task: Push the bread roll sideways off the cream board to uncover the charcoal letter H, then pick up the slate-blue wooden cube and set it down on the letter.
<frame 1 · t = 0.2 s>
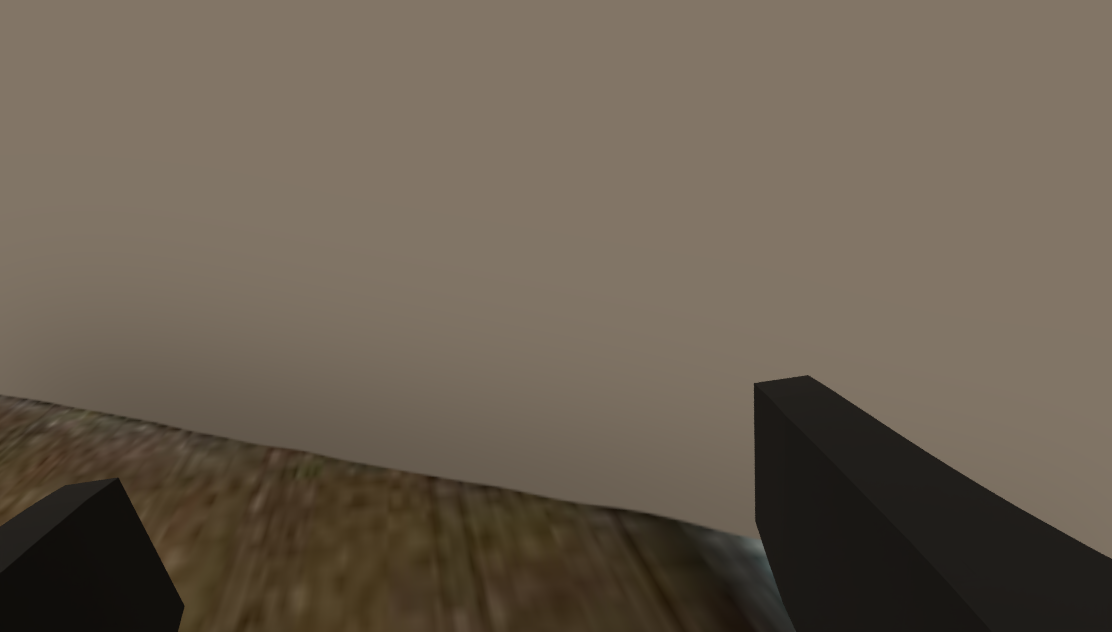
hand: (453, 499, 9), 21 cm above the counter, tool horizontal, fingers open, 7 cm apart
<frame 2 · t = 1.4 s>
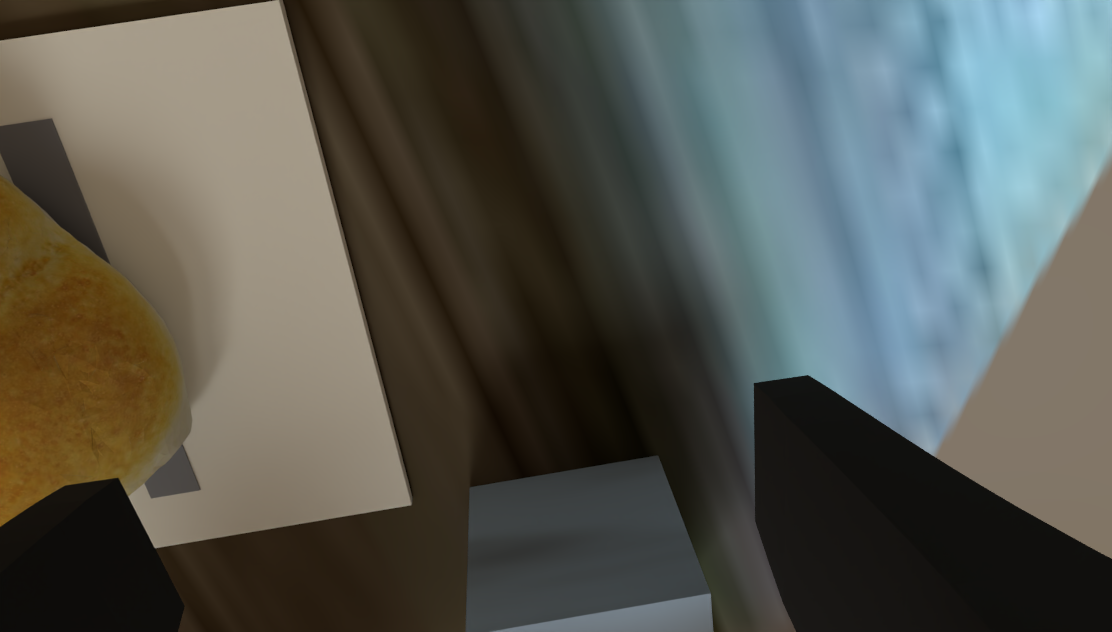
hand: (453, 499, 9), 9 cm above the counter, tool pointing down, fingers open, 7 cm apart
letter board: (1, 340, 17), on the counter
slate-blue cube: (575, 544, 21), on the counter
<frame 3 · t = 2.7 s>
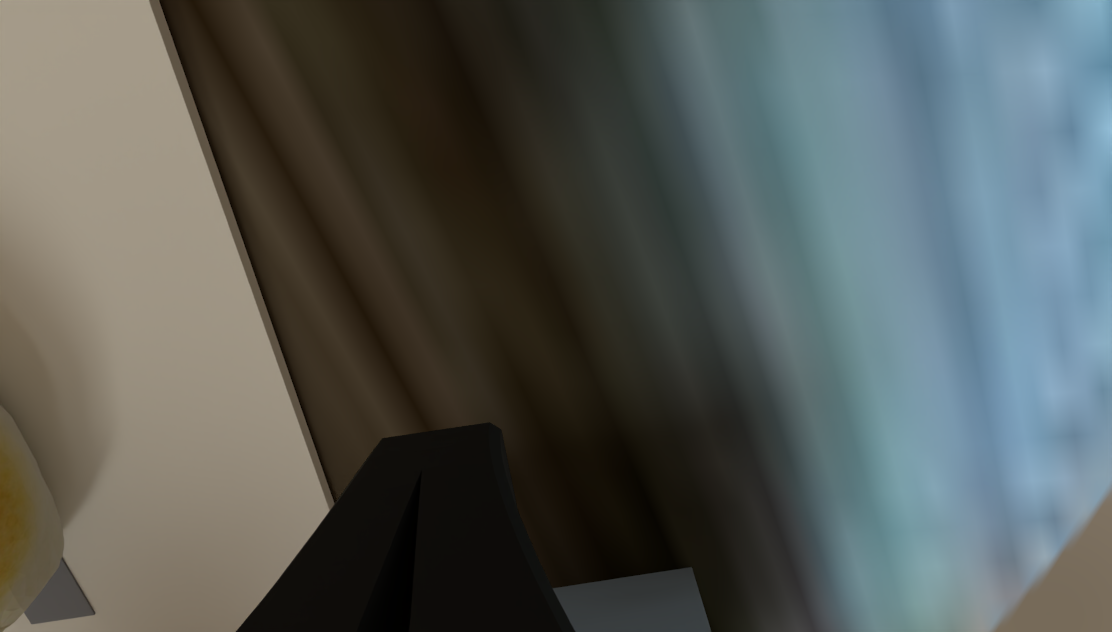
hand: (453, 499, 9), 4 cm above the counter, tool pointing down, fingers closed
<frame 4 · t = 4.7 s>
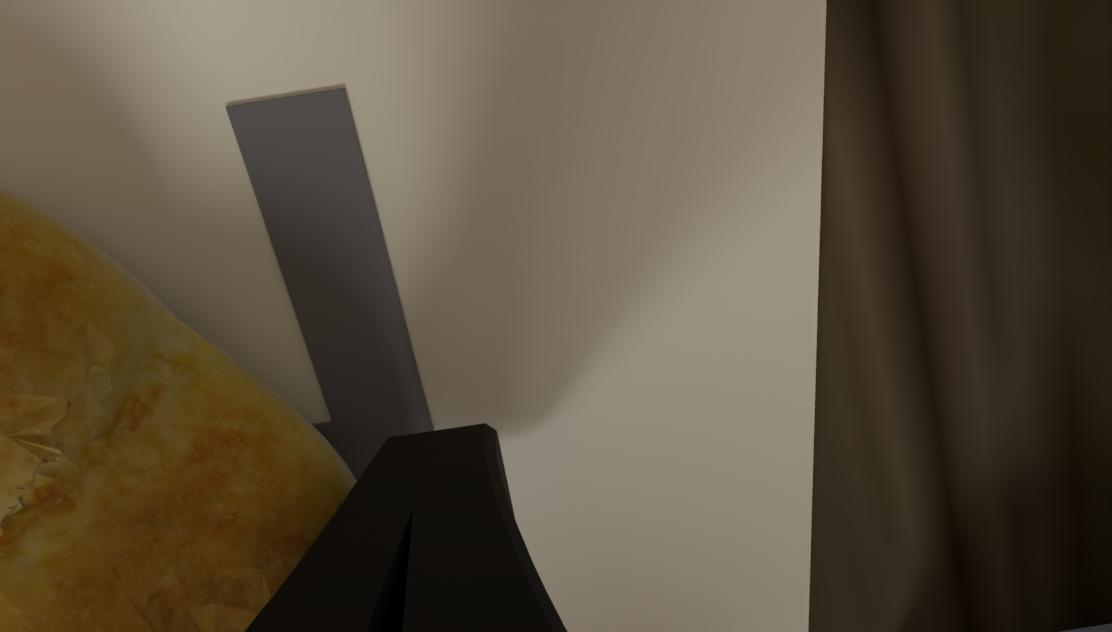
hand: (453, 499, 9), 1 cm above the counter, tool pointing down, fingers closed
letter board: (207, 466, 10), on the counter
bread roll: (57, 488, 10), resting on letter board, touching gripper
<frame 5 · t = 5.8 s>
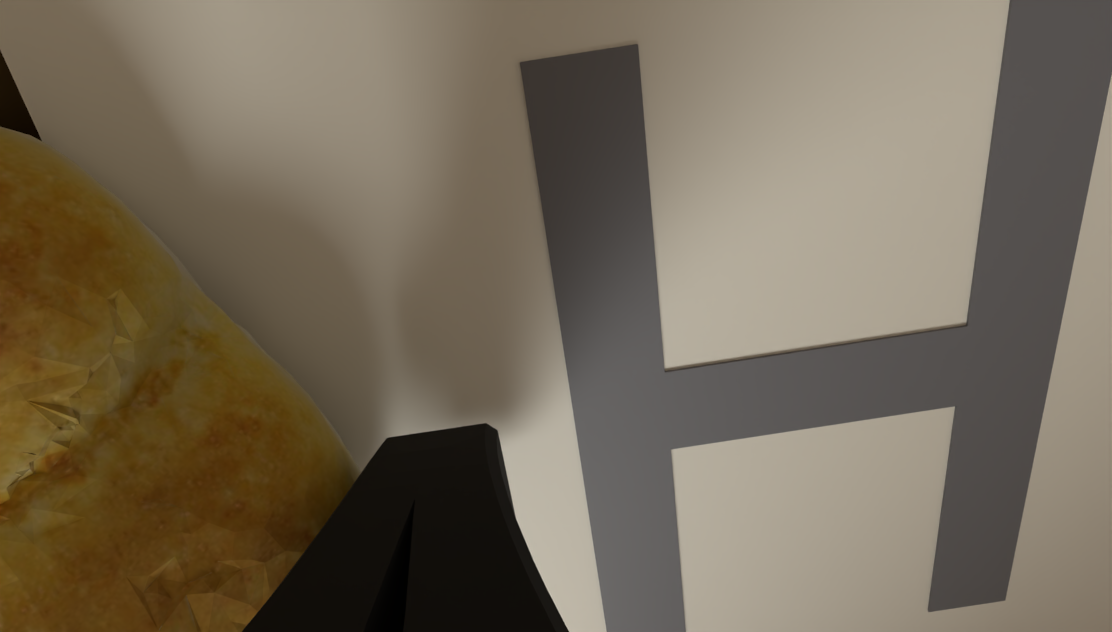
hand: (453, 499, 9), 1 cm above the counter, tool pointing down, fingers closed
letter board: (805, 375, 10), on the counter
bread roll: (57, 447, 10), resting on letter board, touching gripper
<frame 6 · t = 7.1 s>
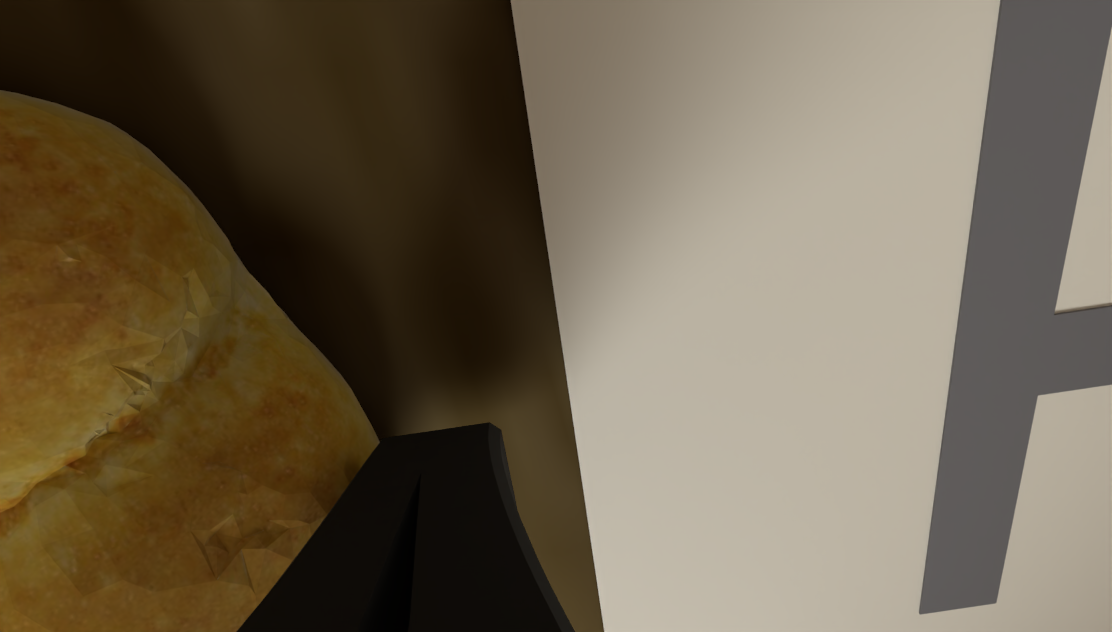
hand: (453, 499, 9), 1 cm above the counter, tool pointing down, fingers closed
bread roll: (77, 416, 10), on the counter
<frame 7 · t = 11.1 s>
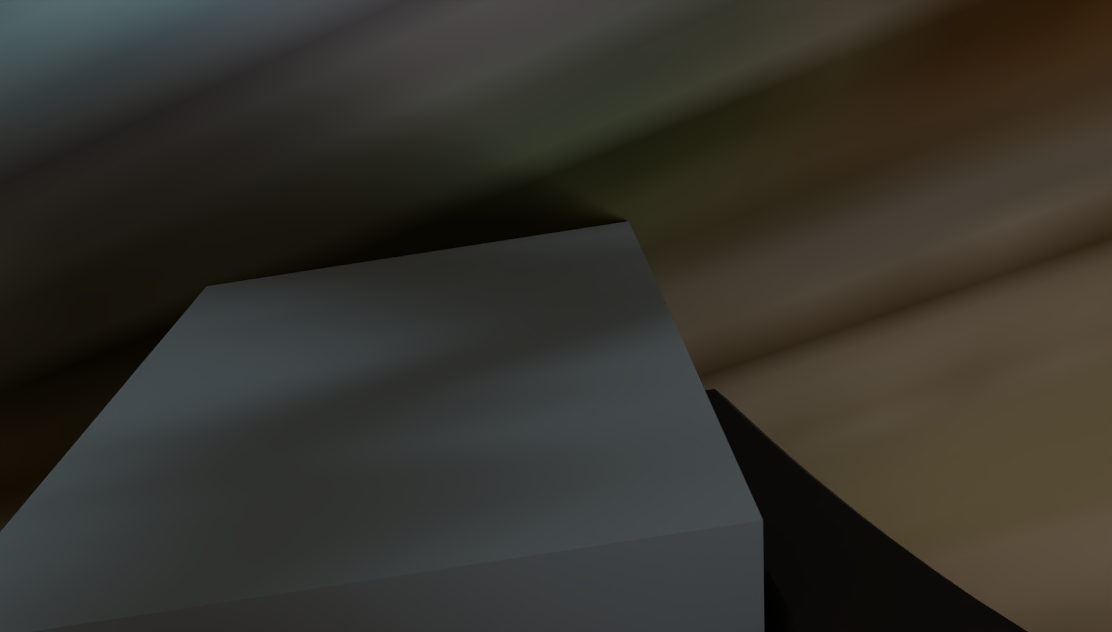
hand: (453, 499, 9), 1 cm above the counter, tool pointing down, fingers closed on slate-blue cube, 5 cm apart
slate-blue cube: (459, 426, 10), on the counter, touching gripper
when the fingers open (3 cm above the counter, at t = 14.7 s): slate-blue cube drops 1 cm, resting on letter board.
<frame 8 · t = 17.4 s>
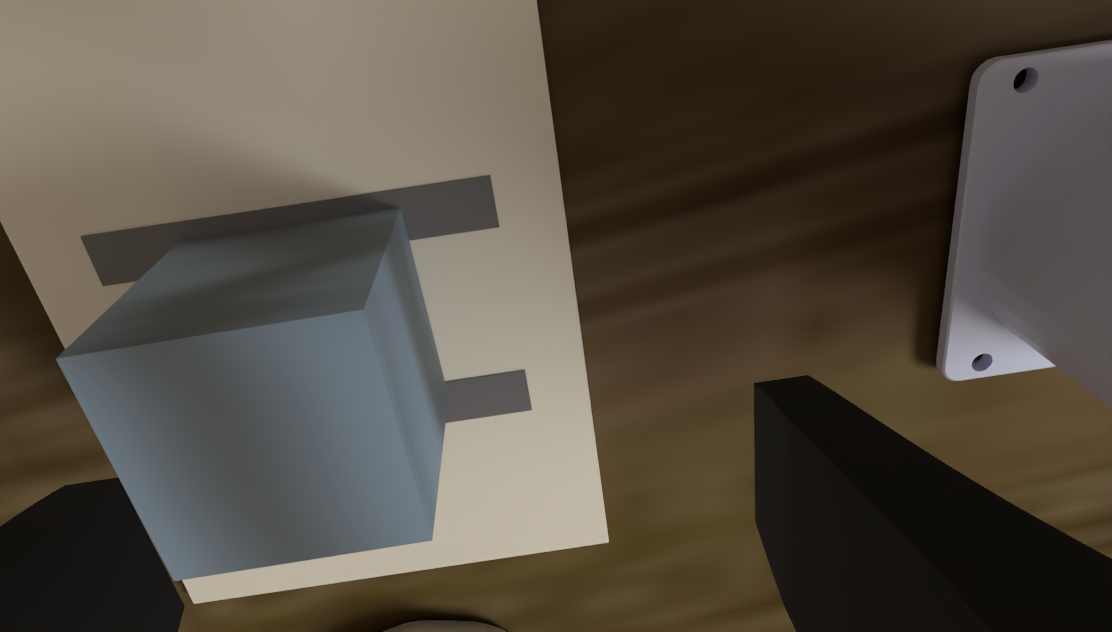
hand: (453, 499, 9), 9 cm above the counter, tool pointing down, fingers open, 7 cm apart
letter board: (327, 323, 18), on the counter
slate-blue cube: (321, 324, 17), resting on letter board
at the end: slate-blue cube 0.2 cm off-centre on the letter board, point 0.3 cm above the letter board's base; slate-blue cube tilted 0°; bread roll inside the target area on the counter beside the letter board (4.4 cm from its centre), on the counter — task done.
